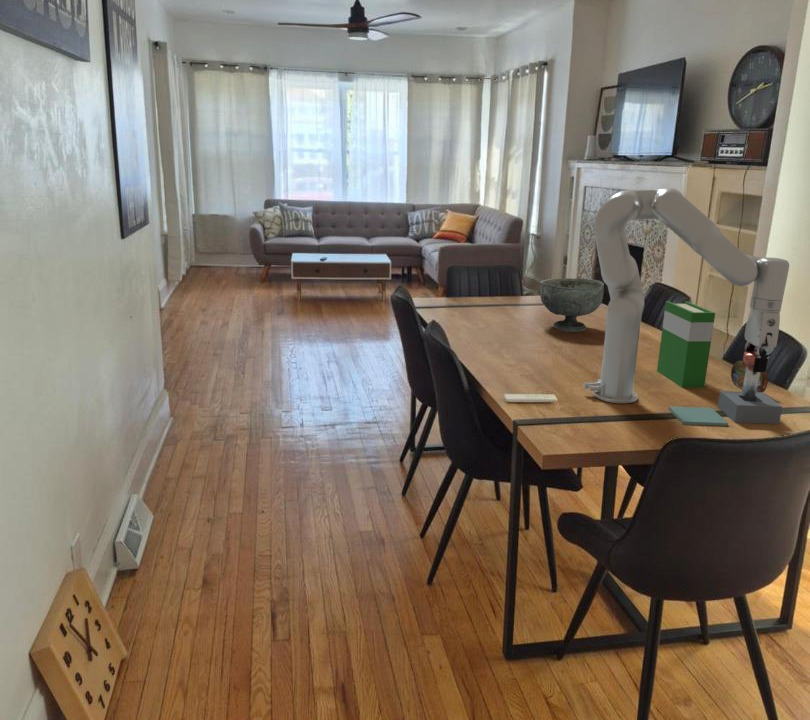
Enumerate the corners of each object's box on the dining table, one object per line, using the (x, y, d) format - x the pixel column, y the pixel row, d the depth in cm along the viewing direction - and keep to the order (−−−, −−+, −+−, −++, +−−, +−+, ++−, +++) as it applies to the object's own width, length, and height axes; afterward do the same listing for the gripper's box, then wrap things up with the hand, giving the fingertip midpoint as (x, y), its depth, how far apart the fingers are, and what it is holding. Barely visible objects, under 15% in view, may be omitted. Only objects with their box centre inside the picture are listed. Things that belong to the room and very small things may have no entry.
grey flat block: (734, 422, 192) (737, 405, 191) (717, 407, 203) (720, 390, 202) (779, 423, 192) (782, 406, 190) (759, 408, 203) (762, 392, 202)
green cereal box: (656, 371, 238) (665, 301, 231) (677, 370, 238) (687, 301, 232) (681, 387, 221) (692, 312, 214) (704, 387, 221) (715, 312, 215)
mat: (682, 424, 190) (683, 421, 189) (668, 408, 201) (669, 406, 201) (727, 425, 189) (728, 423, 189) (711, 410, 201) (711, 407, 200)
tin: (728, 382, 227) (732, 357, 225) (737, 382, 228) (741, 357, 225) (757, 397, 213) (762, 371, 210) (767, 397, 213) (772, 371, 211)
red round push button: (763, 399, 193) (772, 357, 190) (741, 398, 193) (749, 356, 190) (754, 392, 199) (762, 351, 195) (733, 391, 199) (740, 350, 196)
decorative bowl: (608, 336, 281) (612, 286, 276) (544, 335, 281) (547, 286, 277) (593, 323, 307) (596, 277, 302) (534, 323, 307) (536, 277, 302)
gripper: (795, 312, 180) (781, 378, 185) (765, 298, 197) (753, 360, 202) (766, 310, 181) (753, 377, 186) (738, 297, 197) (727, 358, 202)
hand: (753, 367), depth 194 cm, fingers closed on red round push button, 6 cm apart
